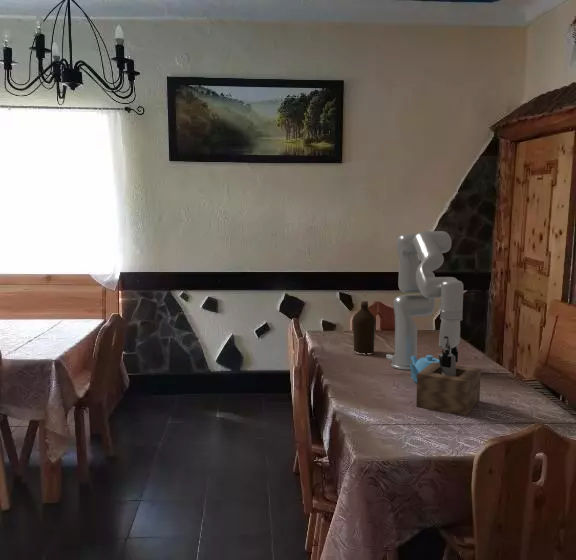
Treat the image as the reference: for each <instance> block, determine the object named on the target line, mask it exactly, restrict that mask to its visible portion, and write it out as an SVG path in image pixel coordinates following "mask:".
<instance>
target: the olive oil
mask: <svg viewBox="0 0 576 560" xmlns="http://www.w3.org/2000/svg"><path fill="white" fill-rule="evenodd" d="M360 302H361V303H360V309H359V311H358V312H356V313H355V315H354V316H353V318H352V319H353V320H352V329H353V352H354V351H356V352H359V353H365V354H367V353H373V352H374V353H375V338H376V337H375V336H376V324H377V323H376V322H377V321H376V317H375V316H374V314H373V313H372V312H371V311H370V310H369V304H368V303H369V301H368V300H361V301H360ZM374 353H373V354H374Z"/></svg>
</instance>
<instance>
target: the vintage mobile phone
mask: <svg viewBox="0 0 576 560" xmlns="http://www.w3.org/2000/svg"><path fill="white" fill-rule="evenodd" d="M447 347H450V346H447ZM448 352H449V350H448ZM450 356H451V367H450V368H448V367H442V353H440V354H438V359H439V362H440V368H441V370H442V374H444V375H450V376H456V366H457V365H456V364H457V362H456V357H455V356H454V355H453V354H450Z"/></svg>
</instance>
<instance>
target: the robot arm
mask: <svg viewBox="0 0 576 560" xmlns="http://www.w3.org/2000/svg"><path fill="white" fill-rule="evenodd" d="M451 248H452V238H451V235H450V234H449V233H448V232H447V231H443V230H433V231H431V230H429V231H428V230H427V231H425V230H424V231H420V232H417V233H404V234H401V235H399V236H398V238H397V240H396V251H397V255H398V259H399V260H398V261H399V265H398V281H397V283H398V288H399V291H400V292H402V293H406V294H402V295H397V296H396V297H395V298H394V299H393V303H392V305H393V312H394V353H393V354H389V353H387V354H386V356H385V358H386V360H387V361H388V360H391V363H390V366H391V367H392V368H395V369H397V370H398V369H399V370H404V371H405V370H408V371H409V370H410V364H413V363H412V359H411V356H416V358H417V357H418V355H417V354H418V353H417V352H418V351H417V349H418V325H417V323H416V322H415V320H414V319H413V318H414V317H416V318H417V317H429V316H431V315H433V314H434V311H435V304H436V299H440V311H439V312H440V314H439V315H440V316H439V319H440V320H441V322H440V326H439V327H440V328H439V336H438V338H439V340H438V347H439V348H441V354H442V367H448V368H450V367H451V356H450V354H453V355H454V356H455V357H456V363H458V362H459V361H458V358H459V345H460V343H461V342H460V341H461V321H463V307H464V304H463V303H464V283H463V282H462V281H461V280H458V279H457V278H456V277H454V276H435V273H434V271H436V270H438V269H439V268H441V266H442V265H443V263H444V261H445V258H444V255H443V254H444V253H447V252H449V251H450V250H451ZM407 293H420V294H407ZM447 346H450V347H447ZM448 350H449V352H448ZM417 359H418V358H417ZM410 371H411V370H410Z"/></svg>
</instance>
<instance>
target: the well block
mask: <svg viewBox="0 0 576 560" xmlns="http://www.w3.org/2000/svg"><path fill="white" fill-rule="evenodd" d="M481 373H482V369H481V368H476V367H470V366H462V365H456V376H450V375H444V374H442V370H441V368H440V363H435V362H433V363H432V364H430V365H429V366H428V367H426V368H425V369H423V370H422V371H421V372H419V373H418V374H417V383H416V406H417V408H423V409H428V410H433V411H438V412H442V413H449V414H455V415H460V416H464V417H466V416H467V415H468V414H469V413H471V411H472V410H473V409H474V408H475V407H476V405H478V403H479V402H480V397H481V377H482V376H481V375H482V374H481Z"/></svg>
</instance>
